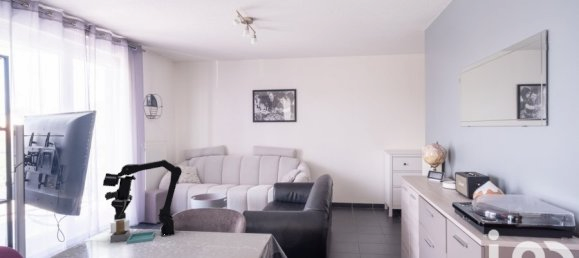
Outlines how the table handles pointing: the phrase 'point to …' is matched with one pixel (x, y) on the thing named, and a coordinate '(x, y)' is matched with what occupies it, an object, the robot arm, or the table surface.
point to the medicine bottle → (121, 217)
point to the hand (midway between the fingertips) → (119, 215)
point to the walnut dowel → (120, 227)
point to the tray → (141, 237)
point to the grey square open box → (119, 237)
